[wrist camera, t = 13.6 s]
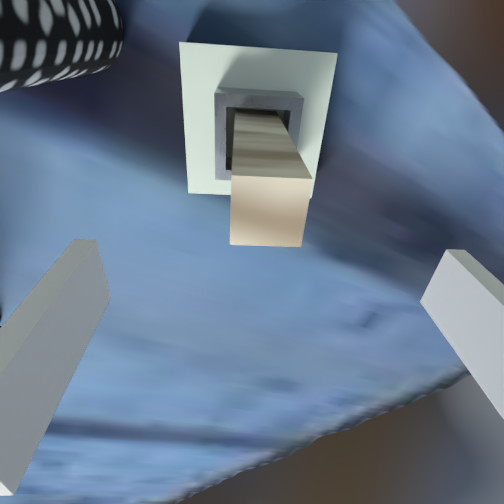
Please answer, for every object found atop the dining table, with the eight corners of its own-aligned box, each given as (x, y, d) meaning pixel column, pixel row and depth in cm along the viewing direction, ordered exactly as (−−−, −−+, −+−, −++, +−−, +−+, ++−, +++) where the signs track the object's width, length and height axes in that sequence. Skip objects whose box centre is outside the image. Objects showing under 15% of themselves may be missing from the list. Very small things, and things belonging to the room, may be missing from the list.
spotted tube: (38, -66, 25) (-335, -266, 9) (136, 3, 28) (-11, -51, 12) (20, 38, 29) (-264, 33, 13) (107, 90, 32) (-34, 141, 15)
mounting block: (305, 184, 39) (311, 198, 35) (192, 179, 38) (188, 193, 34) (327, 52, 31) (337, 53, 27) (185, 42, 30) (179, 42, 27)
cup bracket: (286, 169, 33) (292, 183, 30) (217, 165, 33) (215, 179, 29) (296, 91, 29) (304, 98, 26) (217, 86, 29) (214, 92, 25)
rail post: (272, 152, 32) (300, 246, 17) (234, 150, 32) (229, 244, 17) (276, 111, 30) (312, 179, 15) (235, 108, 30) (231, 175, 15)
